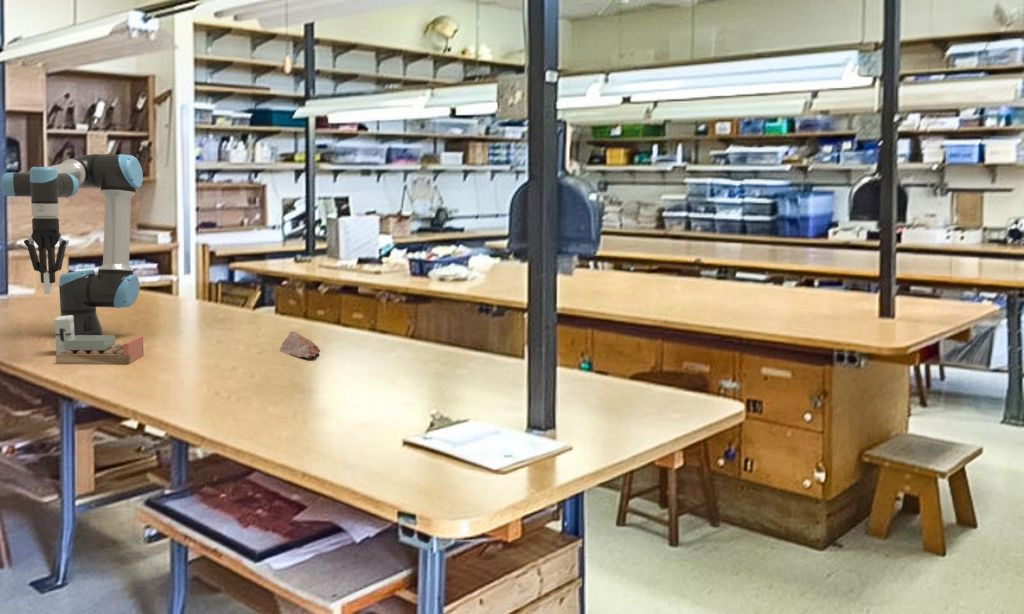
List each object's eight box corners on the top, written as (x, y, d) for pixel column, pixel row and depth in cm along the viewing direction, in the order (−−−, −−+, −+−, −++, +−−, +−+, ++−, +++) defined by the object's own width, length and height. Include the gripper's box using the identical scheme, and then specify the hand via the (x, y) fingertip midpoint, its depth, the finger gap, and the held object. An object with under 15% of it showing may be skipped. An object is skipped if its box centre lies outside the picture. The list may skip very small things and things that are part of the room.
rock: (298, 358, 314) (319, 334, 317) (273, 347, 334) (293, 325, 337) (320, 378, 319) (340, 354, 322) (294, 367, 339) (313, 345, 342)
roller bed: (73, 355, 319) (73, 343, 319) (143, 355, 321) (143, 343, 320) (56, 363, 305) (55, 351, 305) (129, 364, 307) (128, 351, 306)
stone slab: (77, 344, 317) (76, 335, 317) (115, 344, 318) (115, 335, 317) (64, 350, 307) (64, 340, 307) (104, 350, 308) (104, 340, 307)
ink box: (59, 350, 326) (57, 315, 325) (75, 350, 328) (74, 314, 326) (55, 355, 318) (54, 319, 317) (72, 355, 320) (71, 318, 318)
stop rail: (138, 355, 320) (137, 335, 320) (143, 355, 321) (143, 336, 320) (123, 364, 306) (123, 343, 306) (129, 364, 307) (128, 343, 306)
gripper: (18, 217, 302) (21, 294, 305) (62, 218, 303) (65, 295, 306) (28, 216, 310) (32, 291, 313) (71, 217, 310) (74, 292, 313)
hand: (48, 293), depth 309 cm, fingers closed
